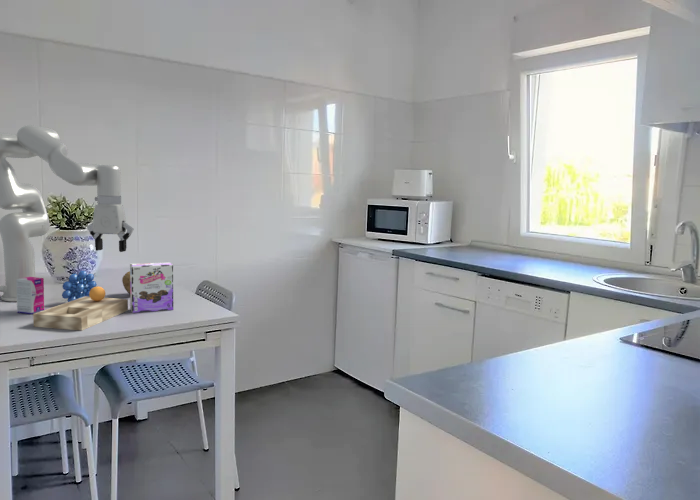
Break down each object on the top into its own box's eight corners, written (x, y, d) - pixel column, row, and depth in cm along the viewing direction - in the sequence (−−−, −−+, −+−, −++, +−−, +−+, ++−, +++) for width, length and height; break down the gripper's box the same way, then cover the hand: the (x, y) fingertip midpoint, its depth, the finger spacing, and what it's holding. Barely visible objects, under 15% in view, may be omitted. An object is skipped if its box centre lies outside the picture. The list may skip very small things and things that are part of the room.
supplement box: (32, 314, 174) (30, 280, 172) (16, 313, 175) (14, 279, 174) (45, 310, 180) (44, 277, 178) (30, 309, 181) (28, 276, 179)
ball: (86, 302, 177) (85, 287, 176) (95, 298, 182) (94, 284, 181) (99, 303, 176) (99, 288, 175) (108, 299, 181) (108, 285, 180)
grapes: (92, 299, 198) (92, 267, 196) (99, 302, 193) (98, 270, 191) (58, 303, 190) (57, 270, 188) (64, 307, 185) (63, 273, 183)
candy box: (131, 313, 180) (130, 265, 178) (130, 309, 185) (129, 263, 183) (173, 310, 186) (173, 264, 184) (171, 306, 191) (170, 261, 189)
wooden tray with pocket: (33, 326, 161) (33, 313, 160) (85, 307, 185) (85, 296, 185) (81, 330, 159) (81, 317, 158) (128, 310, 183) (127, 299, 183)
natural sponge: (143, 291, 212) (142, 267, 211) (151, 296, 206) (150, 270, 204) (119, 294, 207) (119, 269, 205) (127, 298, 200) (126, 273, 199)
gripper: (79, 200, 180) (81, 250, 182) (126, 202, 178) (127, 253, 180) (93, 199, 188) (94, 248, 190) (138, 201, 185) (139, 250, 187)
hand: (110, 250), depth 185 cm, fingers open, 8 cm apart
